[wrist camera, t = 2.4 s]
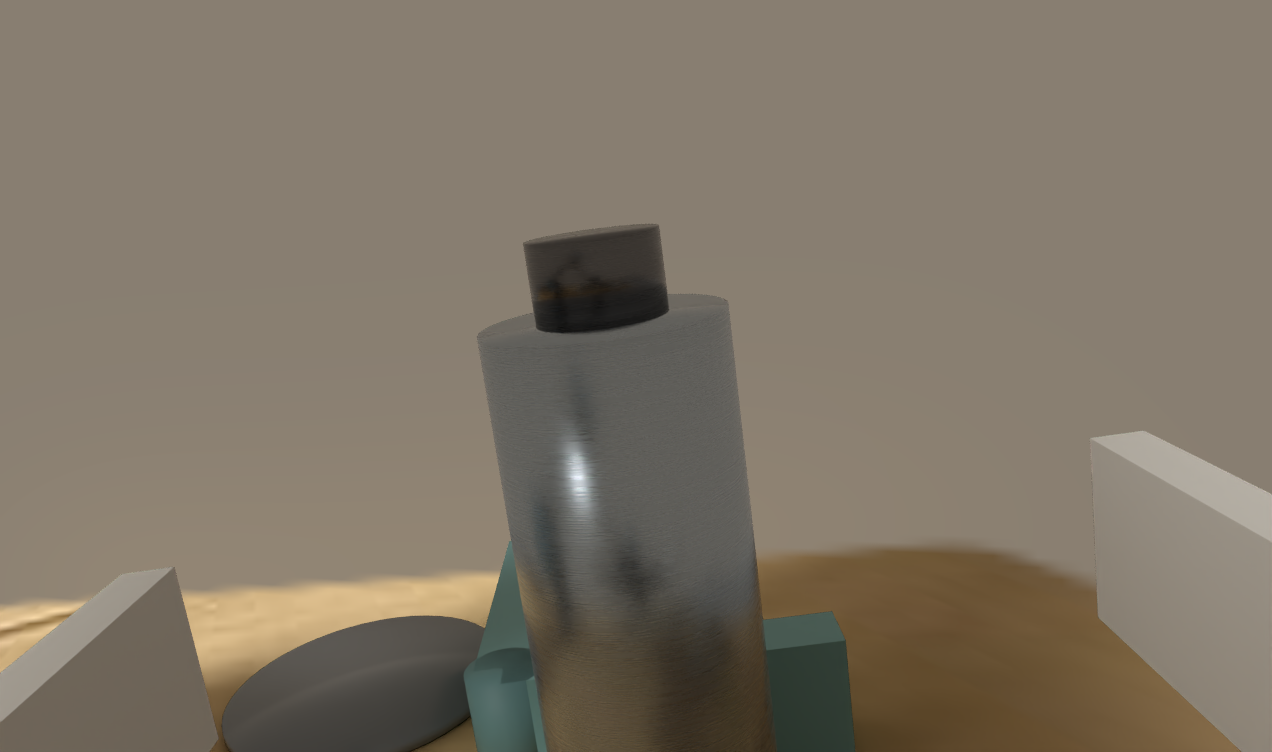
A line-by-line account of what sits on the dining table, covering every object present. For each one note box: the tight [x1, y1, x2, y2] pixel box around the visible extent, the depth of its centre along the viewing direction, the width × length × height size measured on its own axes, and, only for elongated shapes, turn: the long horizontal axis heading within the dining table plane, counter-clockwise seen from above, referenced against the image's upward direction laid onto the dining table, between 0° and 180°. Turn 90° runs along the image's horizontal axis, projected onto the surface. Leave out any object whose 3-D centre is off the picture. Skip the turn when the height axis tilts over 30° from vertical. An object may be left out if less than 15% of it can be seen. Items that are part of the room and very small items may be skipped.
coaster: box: [222, 616, 485, 752], centre depth 39 cm, size 11×11×1 cm
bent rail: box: [464, 541, 855, 752], centre depth 37 cm, size 12×12×4 cm
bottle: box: [477, 224, 777, 752], centre depth 25 cm, size 6×6×18 cm
